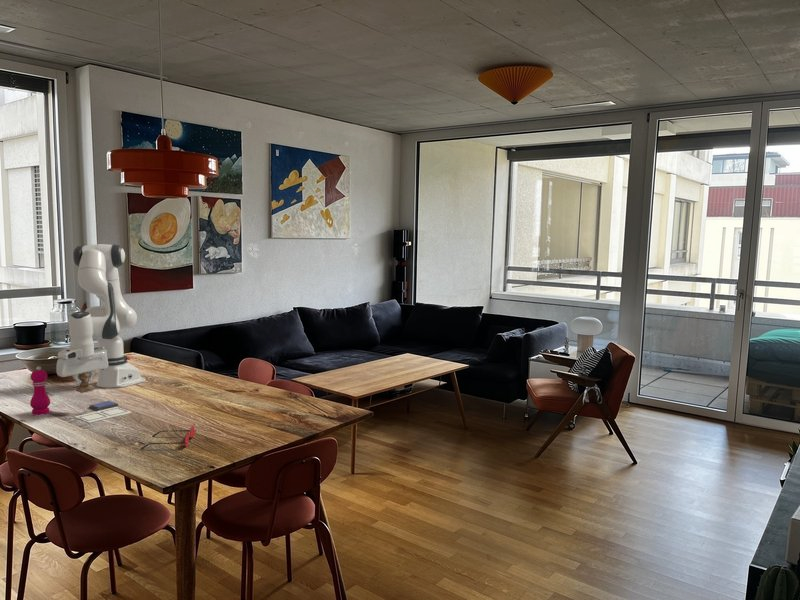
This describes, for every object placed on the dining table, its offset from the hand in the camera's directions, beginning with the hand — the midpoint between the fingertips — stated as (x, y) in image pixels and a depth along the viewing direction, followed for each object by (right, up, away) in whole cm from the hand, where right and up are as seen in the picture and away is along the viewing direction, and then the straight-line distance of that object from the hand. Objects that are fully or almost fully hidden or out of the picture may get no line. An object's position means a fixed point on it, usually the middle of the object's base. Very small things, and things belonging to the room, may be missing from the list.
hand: (84, 382), depth 254 cm
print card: (+9, -13, -3) cm, 16 cm away
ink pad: (+4, -12, +9) cm, 15 cm away
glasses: (+48, -18, -32) cm, 61 cm away
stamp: (0, -3, 0) cm, 3 cm away
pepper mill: (-17, -13, -2) cm, 21 cm away
